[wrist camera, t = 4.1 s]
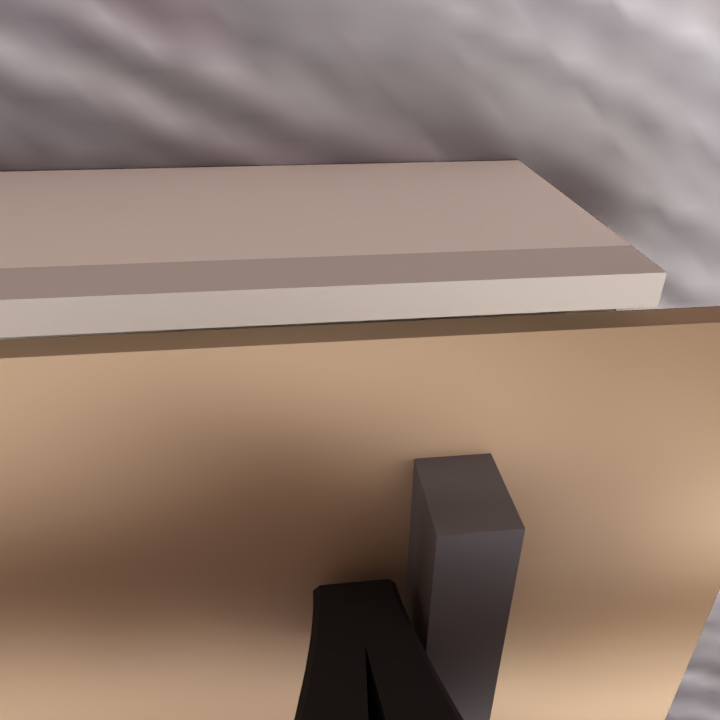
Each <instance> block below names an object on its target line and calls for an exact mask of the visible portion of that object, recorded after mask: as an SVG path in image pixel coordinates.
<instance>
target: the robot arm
mask: <svg viewBox="0 0 720 720" xmlns="http://www.w3.org/2000/svg"><path fill="white" fill-rule="evenodd" d="M294 720H464V719H463V718H462V716H461V714H460V713H459V711H458V709H457V708H456V706H455V704H454V702H453V701H452V699H451V697H450V695H449V694H448V692H447V690H446V688H445V687H444V685H443V683H442V681H441V680H440V678H439V676H438V674H437V673H436V671H435V669H434V667H433V665H432V663H431V661H430V660H429V658H428V656H427V654H426V652H425V650H424V648H423V646H422V644H421V642H420V640H419V638H418V636H417V634H416V632H415V630H414V627H413V625H412V623H411V621H410V619H409V617H408V614H407V612H406V610H405V607H404V605H403V602H402V600H401V597H400V595H399V592H398V589H397V586H396V584H395V583H394V582H393V581H391V580H390V579H382V580H371V581H360V582H349V583H338V584H327V585H319V586H318V587H317V588H316V589H314V590H313V617H312V628H311V637H310V644H309V650H308V656H307V662H306V668H305V673H304V678H303V682H302V687H301V691H300V696H299V700H298V705H297V710H296V714H295V718H294Z"/></svg>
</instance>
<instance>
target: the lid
mask: <svg viewBox="0 0 720 720" xmlns="http://www.w3.org/2000/svg"><path fill="white" fill-rule="evenodd" d="M382 579H390V580H391V581H393V582H394V583H395V584H396V586H397V589H398V592H399V595H400V597H401V600H402V602H403V605H404V607H405V610H406V612H407V614H408V617H409V619H410V621H411V623H412V625H413V627H414V630H415V632H416V634H417V636H418V638H419V640H420V642H421V644H422V646H423V648H424V650H425V652H426V654H427V656H428V658H429V660H430V661H431V663H432V665H433V667H434V669H435V671H436V673H437V674H438V676H439V678H440V680H441V681H442V683H443V685H444V687H445V688H446V690H447V692H448V694H449V695H450V697H451V699H452V701H453V702H454V704H455V706H456V708H457V709H458V711H459V713H460V714H461V716H462V718H463V719H464V720H665V718H666V715H667V713H668V711H669V708H670V706H671V703H672V701H673V699H674V696H675V694H676V692H677V689H678V687H679V684H680V682H681V680H682V677H683V675H684V673H685V670H686V668H687V666H688V663H689V661H690V658H691V656H692V654H693V651H694V649H695V647H696V644H697V642H698V639H699V637H700V635H701V632H702V630H703V628H704V625H705V623H706V620H707V618H708V616H709V613H710V611H711V609H712V606H713V604H714V601H715V599H716V597H717V594H718V592H719V590H720V306H713V307H692V308H671V309H650V310H629V311H608V312H586V313H565V314H544V315H523V316H502V317H481V318H460V319H439V320H418V321H397V322H376V323H355V324H334V325H312V326H291V327H270V328H249V329H228V330H207V331H186V332H165V333H144V334H123V335H102V336H81V337H59V338H38V339H17V340H0V720H294V718H295V714H296V710H297V705H298V700H299V696H300V691H301V687H302V682H303V678H304V673H305V668H306V662H307V656H308V650H309V644H310V637H311V628H312V617H313V590H314V589H316V588H317V587H318V586H319V585H327V584H338V583H349V582H360V581H371V580H382Z"/></svg>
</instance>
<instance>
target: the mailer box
mask: <svg viewBox="0 0 720 720" xmlns="http://www.w3.org/2000/svg"><path fill="white" fill-rule="evenodd" d="M666 274H667V272H666V271H664V270H663V269H662V268H660V267H659V266H658V265H656V264H655V263H654V262H652V261H651V260H650V259H649V258H647V257H646V256H645V255H643V254H642V253H641V252H639V251H638V250H637V249H635V248H634V247H633V246H631V245H630V244H629V243H627V242H626V241H625V240H623V239H622V238H621V237H620V236H618V235H617V234H616V233H614V232H613V231H612V230H610V229H609V228H608V227H606V226H605V225H604V224H602V223H601V222H600V221H598V220H597V219H596V218H594V217H593V216H592V215H590V214H589V213H588V212H587V211H585V210H584V209H583V208H581V207H580V206H579V205H577V204H576V203H575V202H573V201H572V200H571V199H569V198H568V197H567V196H565V195H564V194H563V193H561V192H560V191H559V190H558V189H556V188H555V187H554V186H552V185H551V184H550V183H548V182H547V181H546V180H544V179H543V178H542V177H540V176H539V175H538V174H536V173H535V172H534V171H532V170H531V169H530V168H528V167H527V166H526V165H525V164H523V163H522V162H521V161H519V160H509V161H464V162H418V163H373V164H328V165H283V166H238V167H192V168H147V169H102V170H57V171H12V172H0V340H17V339H38V338H59V337H81V336H102V335H123V334H144V333H165V332H186V331H207V330H228V329H249V328H270V327H291V326H312V325H334V324H355V323H376V322H397V321H418V320H439V319H460V318H481V317H502V316H523V315H544V314H565V313H586V312H608V311H616V309H622V308H644V307H658V304H659V300H660V297H661V293H662V289H663V285H664V282H665V278H666Z"/></svg>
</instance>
